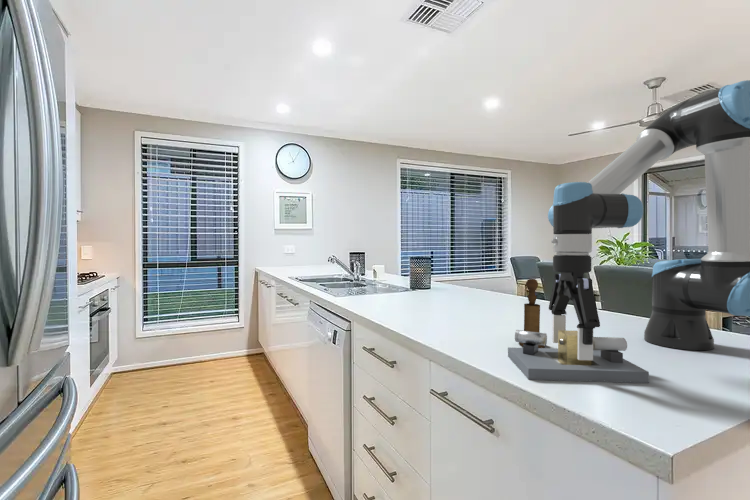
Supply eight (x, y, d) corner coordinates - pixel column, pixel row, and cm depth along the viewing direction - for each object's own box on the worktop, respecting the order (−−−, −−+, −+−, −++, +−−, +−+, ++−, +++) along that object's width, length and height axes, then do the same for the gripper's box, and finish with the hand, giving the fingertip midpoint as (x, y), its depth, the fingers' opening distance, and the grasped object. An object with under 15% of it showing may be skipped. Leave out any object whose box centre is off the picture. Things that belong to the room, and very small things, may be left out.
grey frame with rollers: (606, 358, 92) (607, 329, 92) (648, 383, 76) (649, 347, 76) (507, 356, 94) (508, 327, 94) (528, 379, 78) (528, 344, 78)
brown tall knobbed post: (547, 349, 100) (547, 280, 100) (520, 348, 101) (521, 279, 101) (541, 343, 107) (542, 278, 106) (516, 341, 108) (517, 277, 108)
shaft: (547, 352, 90) (547, 331, 89) (543, 356, 86) (543, 335, 86) (518, 347, 93) (518, 328, 93) (513, 352, 90) (513, 331, 90)
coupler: (583, 361, 87) (583, 330, 87) (593, 368, 82) (594, 336, 82) (555, 360, 88) (556, 330, 87) (564, 368, 83) (564, 335, 82)
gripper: (535, 252, 97) (534, 336, 97) (579, 255, 72) (578, 368, 73) (566, 252, 97) (565, 337, 97) (621, 255, 72) (620, 369, 72)
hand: (571, 350), depth 85 cm, fingers open, 13 cm apart
